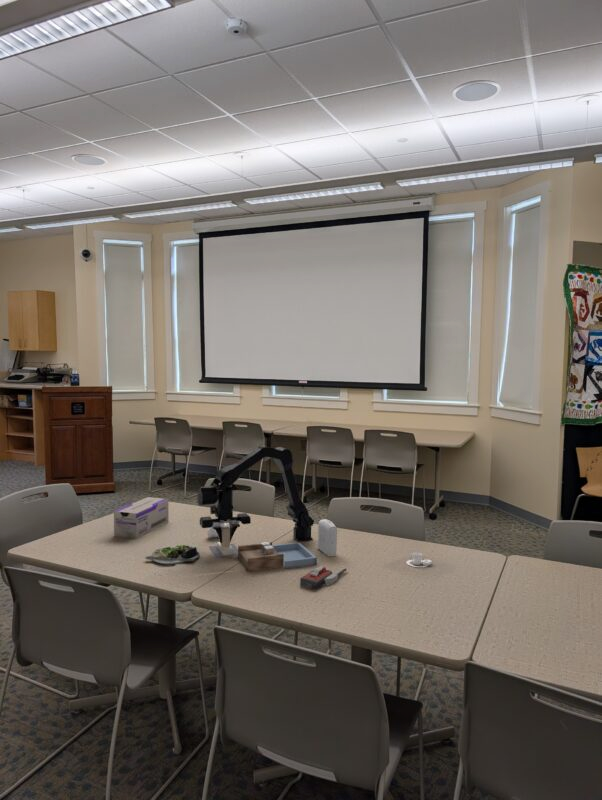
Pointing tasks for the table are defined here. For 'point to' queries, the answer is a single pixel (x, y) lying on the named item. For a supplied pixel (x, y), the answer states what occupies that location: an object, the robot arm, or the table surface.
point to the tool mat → (219, 554)
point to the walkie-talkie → (319, 578)
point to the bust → (213, 532)
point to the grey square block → (268, 550)
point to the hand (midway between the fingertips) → (225, 542)
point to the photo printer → (327, 537)
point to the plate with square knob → (225, 542)
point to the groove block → (259, 558)
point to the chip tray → (295, 555)
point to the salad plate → (175, 555)
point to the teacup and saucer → (418, 560)
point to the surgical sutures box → (140, 517)
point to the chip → (263, 546)
